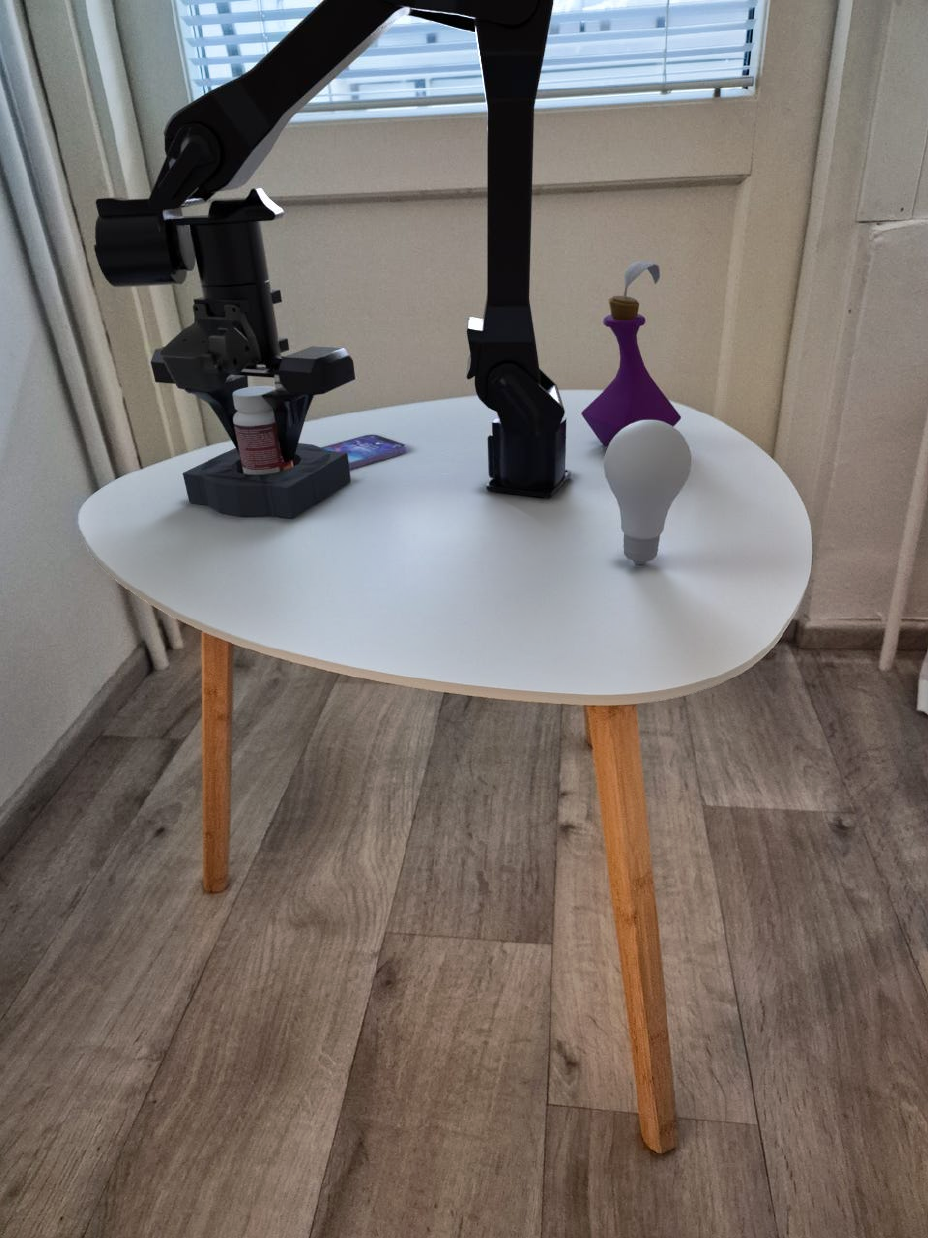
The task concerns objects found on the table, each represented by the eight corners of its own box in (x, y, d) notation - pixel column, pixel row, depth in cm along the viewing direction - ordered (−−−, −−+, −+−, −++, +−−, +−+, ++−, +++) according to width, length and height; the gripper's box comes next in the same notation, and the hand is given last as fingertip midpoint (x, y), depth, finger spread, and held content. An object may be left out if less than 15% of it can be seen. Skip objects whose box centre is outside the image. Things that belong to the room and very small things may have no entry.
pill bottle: (295, 483, 75) (281, 394, 71) (244, 489, 74) (226, 399, 70) (294, 467, 79) (280, 382, 75) (245, 473, 78) (228, 387, 74)
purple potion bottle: (621, 461, 80) (633, 269, 71) (579, 442, 86) (584, 262, 77) (679, 447, 83) (697, 261, 74) (634, 430, 89) (646, 255, 80)
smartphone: (253, 465, 83) (372, 433, 91) (255, 474, 84) (373, 440, 92) (287, 481, 78) (410, 445, 86) (289, 490, 78) (411, 453, 86)
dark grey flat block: (357, 477, 80) (354, 448, 78) (285, 524, 70) (280, 492, 69) (260, 465, 84) (255, 437, 83) (180, 506, 75) (173, 476, 73)
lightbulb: (664, 588, 57) (678, 439, 52) (586, 570, 60) (591, 427, 55) (691, 555, 62) (707, 414, 56) (617, 540, 65) (625, 405, 59)
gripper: (81, 294, 65) (131, 475, 73) (265, 299, 58) (298, 500, 66) (177, 275, 74) (211, 439, 82) (347, 277, 66) (367, 457, 74)
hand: (266, 457), depth 76 cm, fingers closed on pill bottle, 5 cm apart
